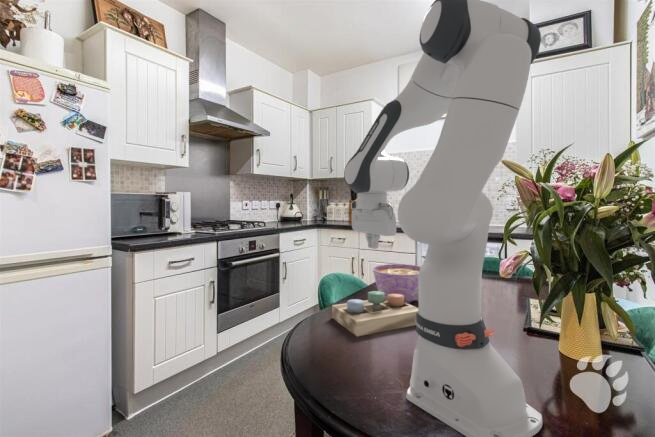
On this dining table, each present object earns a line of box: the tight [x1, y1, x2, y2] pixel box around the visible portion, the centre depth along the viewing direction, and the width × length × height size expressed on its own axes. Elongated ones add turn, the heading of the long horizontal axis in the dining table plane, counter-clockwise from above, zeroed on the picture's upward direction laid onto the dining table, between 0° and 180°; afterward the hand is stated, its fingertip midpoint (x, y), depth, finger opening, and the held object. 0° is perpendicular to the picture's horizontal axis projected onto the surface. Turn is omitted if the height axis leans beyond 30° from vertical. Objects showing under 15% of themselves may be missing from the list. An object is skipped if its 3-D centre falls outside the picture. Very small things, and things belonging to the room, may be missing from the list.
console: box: [331, 297, 418, 337], centre depth 99 cm, size 16×22×4 cm
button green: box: [367, 290, 385, 312], centre depth 99 cm, size 5×5×6 cm
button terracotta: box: [387, 294, 404, 309], centre depth 102 cm, size 5×5×6 cm
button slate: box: [346, 298, 364, 315], centre depth 96 cm, size 5×5×6 cm
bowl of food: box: [372, 263, 422, 304], centre depth 120 cm, size 20×20×12 cm
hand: (372, 248), depth 102 cm, fingers closed
